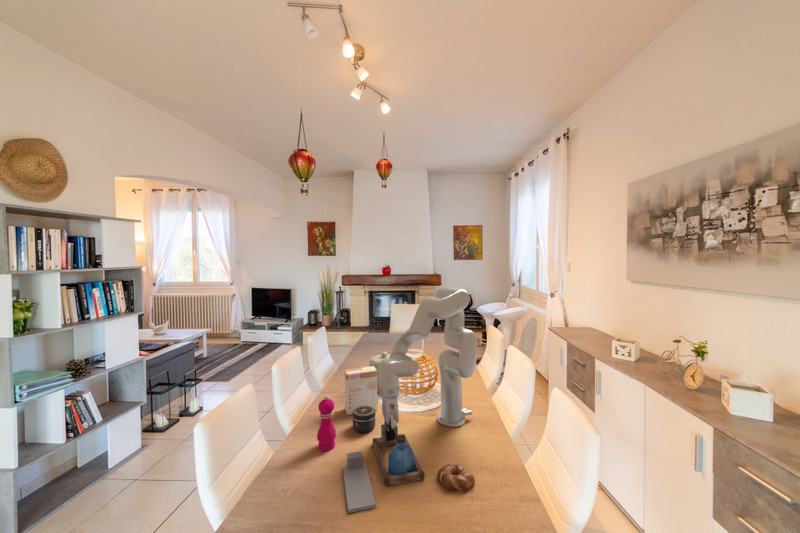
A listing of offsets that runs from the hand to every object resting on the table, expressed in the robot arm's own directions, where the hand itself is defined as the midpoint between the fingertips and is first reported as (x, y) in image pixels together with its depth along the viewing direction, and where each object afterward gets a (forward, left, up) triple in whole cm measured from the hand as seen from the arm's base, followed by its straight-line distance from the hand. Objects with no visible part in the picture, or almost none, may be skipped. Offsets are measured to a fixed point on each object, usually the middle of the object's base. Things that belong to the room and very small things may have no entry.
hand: (389, 436), depth 124 cm
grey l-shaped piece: (+15, +21, -3) cm, 26 cm away
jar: (+8, -14, -3) cm, 17 cm away
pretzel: (-16, +26, -3) cm, 31 cm away
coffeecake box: (+7, -31, -3) cm, 32 cm away
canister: (-9, -52, -3) cm, 53 cm away
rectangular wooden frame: (0, +11, -3) cm, 11 cm away
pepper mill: (+24, -4, -3) cm, 25 cm away
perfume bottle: (0, +17, -3) cm, 17 cm away
